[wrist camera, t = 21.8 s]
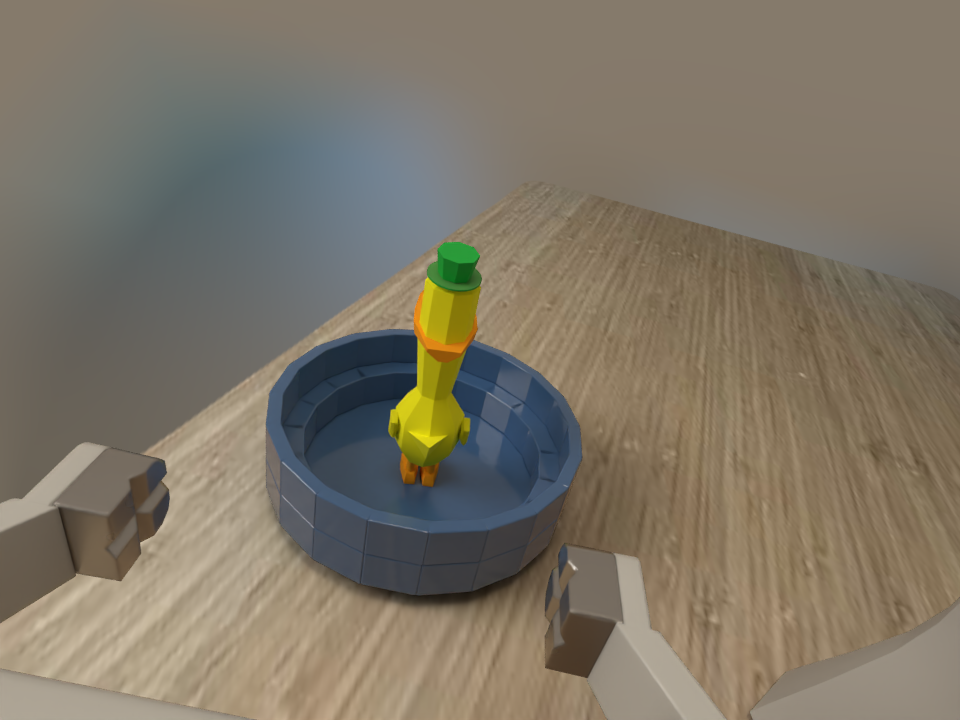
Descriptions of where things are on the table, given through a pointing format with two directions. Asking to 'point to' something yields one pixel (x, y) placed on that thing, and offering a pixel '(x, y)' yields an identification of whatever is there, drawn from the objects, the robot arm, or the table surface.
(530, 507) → the bowl
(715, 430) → the table surface
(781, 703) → the flask
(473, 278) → the toy figure
